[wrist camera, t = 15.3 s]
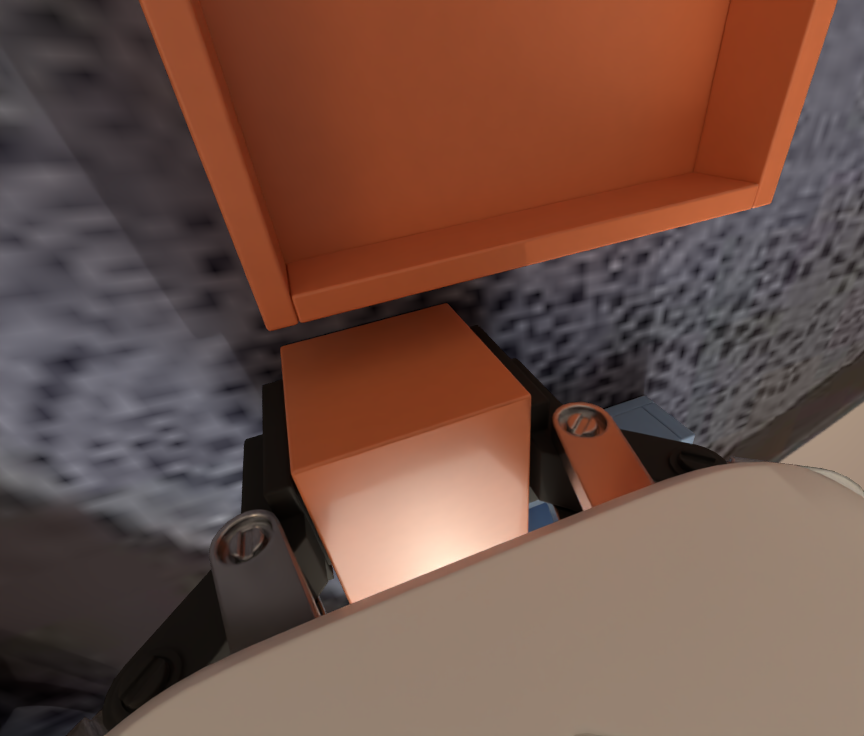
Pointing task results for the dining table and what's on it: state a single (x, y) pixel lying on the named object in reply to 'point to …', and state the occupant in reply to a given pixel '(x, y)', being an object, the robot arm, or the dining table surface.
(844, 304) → the dining table surface
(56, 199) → the dining table surface
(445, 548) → the terracotta block
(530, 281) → the dining table surface
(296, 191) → the terracotta tray
